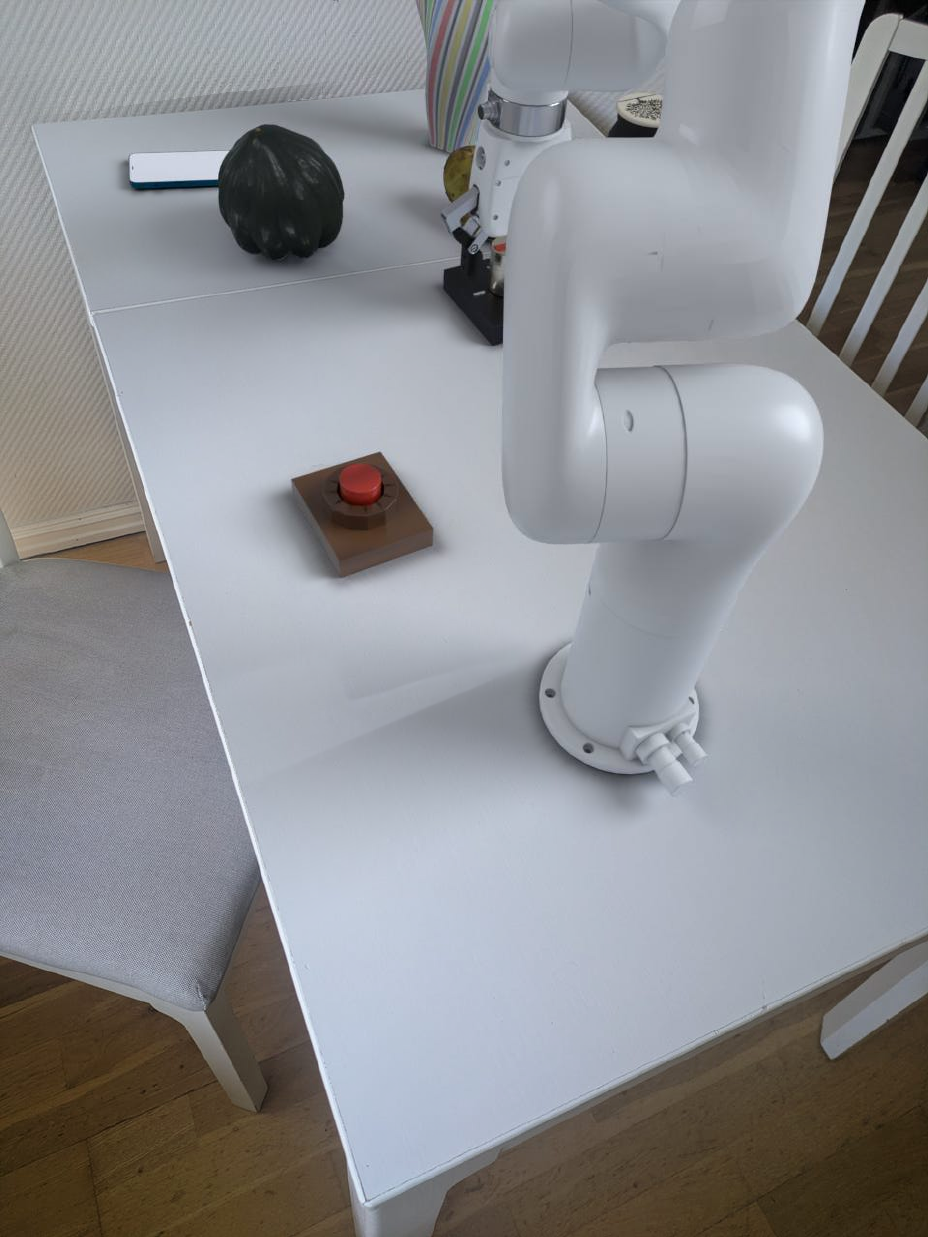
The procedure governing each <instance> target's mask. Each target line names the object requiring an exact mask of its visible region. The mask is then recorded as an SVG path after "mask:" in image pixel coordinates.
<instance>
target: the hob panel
mask: <svg viewBox="0 0 928 1237" xmlns="http://www.w3.org/2000/svg"><path fill="white" fill-rule="evenodd" d="M489 267H490V257H489V258H485V259H483V264H482V275H481V284H480V285H479V286H476V287H474V286H473V285H472V284H471V283H470V282H469V281H468V279H467V278H466V277H464V276H463V274H462V273H461V270H460V265H456V266H452V267H448V268H444V269H443V277H442V278H443V279H442V289H443V291H444V292H445V293H446V294H447V295H448V296H449V298H450V299H451V300H452V301H453V302H454V303H455V305H456V306H457V307H458V308H459V309H460V310H461V311H462V313H463V314H464V315H465V316H466V317H467V318H468V319H469V321H470V322H471V323H472V324H473V325H474V326H475V327H476V329H477V330H478V331H479V332H480V333H481V334H482V335H483V337H484V338H485V339H486V340H487V341H488V342H489V343H490V345H491V346H493V347H494V346H498V345H501V344H502V345H503V322H504V297H501V296H498V295H495V294H494V293H492V292H491V291H490V290H489V288H488V277H489Z"/></svg>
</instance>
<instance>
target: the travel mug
mask: <svg viewBox="0 0 928 1237" xmlns="http://www.w3.org/2000/svg"><path fill="white" fill-rule="evenodd" d="M662 100H663V95H661V94H656V93H652V92H651V93H650V92H634V93H629V94H625V95H623V96H621V97H620V98H619V99H618V100H617V101H616V103H615V110H616V113H617V114H616V115H617V116H616V121H615V123H614V124H613V125H612V127H611V128H610V130H609V131H608V134H607V135H608V136H607V138H652V137H654V136H655V134H656V132H657V130H658V127H659V123H660V117H661V110H662Z"/></svg>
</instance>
